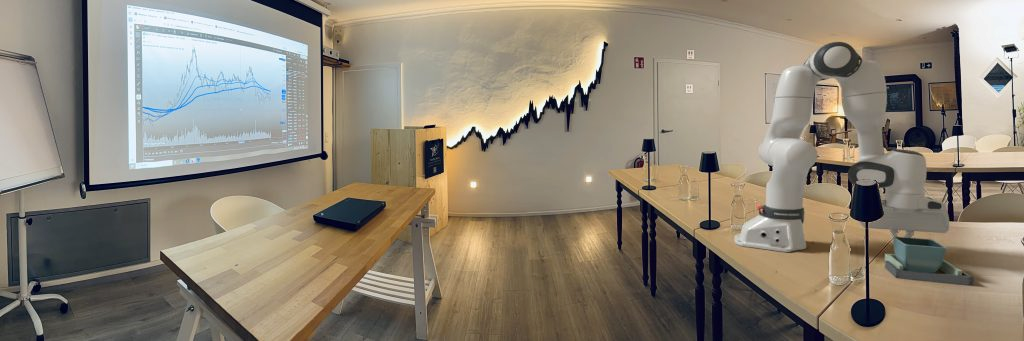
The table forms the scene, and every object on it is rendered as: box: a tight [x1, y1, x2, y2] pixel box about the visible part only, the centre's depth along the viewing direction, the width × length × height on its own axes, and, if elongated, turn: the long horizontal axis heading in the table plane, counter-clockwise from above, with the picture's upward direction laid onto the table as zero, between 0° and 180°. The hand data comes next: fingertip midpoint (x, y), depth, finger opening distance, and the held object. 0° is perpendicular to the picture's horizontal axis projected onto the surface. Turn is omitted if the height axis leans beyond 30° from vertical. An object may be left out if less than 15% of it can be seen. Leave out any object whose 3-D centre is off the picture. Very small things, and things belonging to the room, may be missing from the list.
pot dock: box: [884, 260, 974, 287], centre depth 111 cm, size 15×8×2 cm, turn 63°
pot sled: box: [884, 252, 962, 276], centre depth 114 cm, size 13×13×6 cm
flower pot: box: [892, 236, 947, 273], centre depth 114 cm, size 9×9×9 cm
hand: (900, 243), depth 126 cm, fingers closed
